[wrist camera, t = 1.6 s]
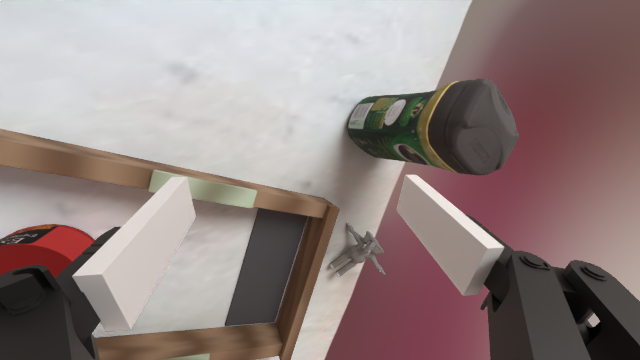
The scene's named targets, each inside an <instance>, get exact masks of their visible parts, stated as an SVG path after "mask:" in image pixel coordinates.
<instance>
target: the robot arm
mask: <svg viewBox="0 0 640 360" xmlns="http://www.w3.org/2000/svg"><path fill="white" fill-rule="evenodd" d="M397 212H399V214H400V215H401V217H402V218H403V219H404V221H405V222H406V223H407V224H408V226H409V227H410V228H411V230H412V231H413V232H414V233H415V235H416V236H417V237H418V239H419V240H420V241H421V242H422V244H423V245H424V246H425V247H426V249H427V250H428V251H429V253H430V254H431V255H432V257H433V258H434V259H435V260H436V262H437V263H438V264H439V265H440V267H441V268H442V269H443V271H444V272H445V273H446V274H447V276H448V277H449V278H450V279H451V281H452V282H453V283H454V285H455V286H456V287H457V288H458V290H459V291H460V292H461V294H462V295H463V296H466V295H476V294H479V292H480V290H481V289H482V287H483V285H485V286H486V287H487V288H488V289H489V290H490V292H489V293H488V295H487V297H486V298H485V300H484V302H483V304H482V305H481V309H482V310H484V308H485V307H486V306H487V307H488V322H489V339H490V356H491V360H640V301H639V300H638V299H636V298H635V297H634V296H633V295H632V294H631V293H630V292H629V291H628V290H627V289H626V288H625V287H624V286H623V285H622V284H621V283H620V282H619V281H618V280H617V279H616V278H614V277H613V276H612V275H610V274H609V273H608V272H606V271H604V270H603V269H601V268H600V267H598V266H595V265H593V264H591V263H587V262H583V261H578V260H574V261H571V262H570V263H569V264H568V266H567V267H566V268H565V269H563V268H557V267H552V266H550V265H549V264H548V263H547V262H546V261H544V260H543V259H541V258H539V257H537V256H536V255H533V254H531V253H528V252H524V251H514V250H513V249H511V248H510V247H509V246H508V245H506V244H505V243H504V242H503V241H501V240H500V239H499V238H498V237H496V236H495V235H494V234H493V233H491V232H489V230H488V229H486V228H485V227H484V226H482V225H481V224H480V223H479V222H478V221H476V220H475V219H474V218H472V217H470V216H468V215H466V214H464V213H462V212H461V211H460V210H459V209H457V208H456V207H455V206H454V205H452V204H451V203H450V202H449V201H447V200H446V199H445V198H444V197H443V196H442V195H440V194H439V193H438V192H437V191H435V190H434V189H433V188H432V187H431V186H429V185H428V184H427V183H426V182H424V181H423V180H422V179H421V178H420V177H418V176H417V175H405V179H404V183H403V187H402V191H401V195H400V199H399V203H398V207H397ZM195 218H196V215H195V210H194V206H193V201H192V197H191V193H190V188H189V184H188V179H187V177H171V178H170V179H169V180H168V181H167V182H166V183H165V184H164V185H163V186H162V187H161V188H160V189H159V190H158V191H157V192H156V193H155V194H154V195H153V196H152V197H151V198H150V199H149V200H148V201H147V202H146V203H145V204H144V205H143V206H142V207H141V208H140V209H139V210H138V211H137V212H136V213H135V214H134V215H133V216H132V217H131V218H130V219H129V220H128V221H127V222H126V223H125V224H124V225H123V226H122V227H114V228H113V229H111V230H109V231H107V232H106V233H104V234H102V235H101V236H100V237H99V238H97V239H96V240H95V241H94V242H93V243H92V244H91V246H90V247H88V248H87V249H86V250H85V251H83V252H82V255H79V256H78V257H77V258H76V259H75V260H74V261H73V262H72V263H70V264H69V265H68V266H67V267H66V268H65V269H64V270H63V271H62V272H61V273H60V274H59V275H58V276H56V277H55V278H54V277H53V275H52V274H51V272H50V271H49V269H48V268H47V267H46V266H44V265H39V264H37V265H29V266H24V267H21V268H17V269H14V270H11V271H9V272H7V273H4V274H2V275H0V360H100V358H99V353H98V349H97V345H96V340H95V338H94V337H93V335H92V332H93V331H94V329H95V328H96V327H97V325H98V324H99V323H101V324H102V326H103V327H104V329H105V331H106V332H112V331H122V330H131V329H132V327H133V325H134V324H135V322H136V320H137V319H138V317H139V315H140V313H141V312H142V310H143V308H144V306H145V305H146V303H147V301H148V300H149V298H150V296H151V294H152V293H153V291H154V289H155V287H156V286H157V284H158V282H159V281H160V279H161V277H162V275H163V274H164V272H165V270H166V268H167V267H168V265H169V263H170V262H171V260H172V258H173V256H174V255H175V253H176V251H177V249H178V248H179V246H180V244H181V243H182V241H183V239H184V237H185V236H186V234H187V232H188V231H189V229H190V227H191V225H192V224H193V222H194V220H195ZM593 313H595V314H596V316H597V317H598V318H599V320H600V322H599V323H598V324H597V325H596V326H595V327H592V326H591V325H590V323H589V322H588V319H589V318H590V317H591V316H592V315H593Z"/></svg>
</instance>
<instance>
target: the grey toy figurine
mask: <svg viewBox="0 0 640 360" xmlns="http://www.w3.org/2000/svg"><path fill="white" fill-rule="evenodd" d="M347 225H348V227H349V228H348V230H350V232H351V233H352V234H353V236H354V237H355V239H356V241H357V242H358V244H357V245H353V246H351V247H350V248H349V250H348V252H346V253H345V254H343V255H342V256H341V257H340V258H338V259H337V260H335V261H333V262H332V263H330V266H331V268H332V269H334V268H335V267H337V266H338V265H339V264H341V263H342V262H344V261H345V260H347V259H349V258H351V261H350V262H348V263H347V264H346V265H344V266H343V267H342V268H340V269H339V270H337V271H336V274H337V276H338V277H340V276H341V275H343V274H344V273H345V272H346V271H347V270H349V269H350V268H352V267H354V266H355V265H356V264H357V263H362V262H364V261H365V259H366V258H369V259H370V260H371V261H372V262H373V263H374V264H375V265H376V267H377V269H378V270H379V272H382V273H383V274H384V275H385V273H384V271H383V269H382V267H381V266H380V265H379V264H378V263H377V260H376V257H375V256H374V254H378V253H384V252H383V249H382V248H381V247H380V246H379V243H378V241H377V240H376V239H375V238H374V237H373V236H372V234H371V233H370V232H368V231H367V232H366V235H365V237H364V238H362V237H361V236H360V235H359V234H357V233H356V232H355V231H354V230H353V228H352V227H351V226H350V225H349V224H348V223H347Z"/></svg>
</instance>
